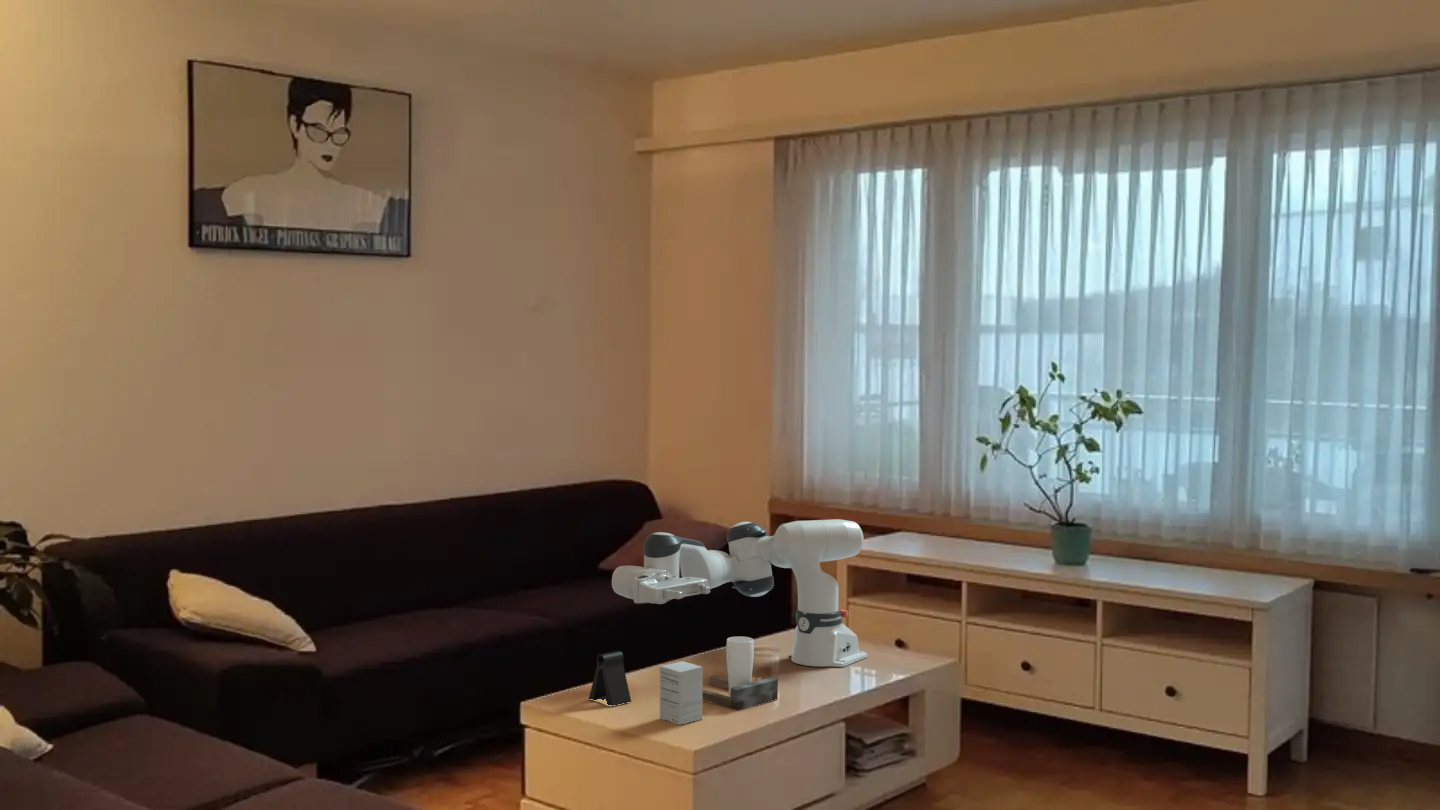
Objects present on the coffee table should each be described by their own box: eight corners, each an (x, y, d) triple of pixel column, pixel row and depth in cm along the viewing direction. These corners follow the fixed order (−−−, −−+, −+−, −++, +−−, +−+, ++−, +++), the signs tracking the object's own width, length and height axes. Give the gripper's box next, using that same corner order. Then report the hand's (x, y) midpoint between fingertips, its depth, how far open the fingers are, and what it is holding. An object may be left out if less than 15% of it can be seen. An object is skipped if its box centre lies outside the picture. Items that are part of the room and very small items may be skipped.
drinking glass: (750, 704, 329) (751, 643, 329) (723, 702, 331) (724, 641, 330) (755, 696, 336) (756, 637, 335) (728, 695, 337) (729, 635, 337)
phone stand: (588, 700, 332) (588, 651, 331) (607, 695, 336) (607, 647, 335) (612, 707, 325) (612, 658, 325) (631, 703, 330) (631, 654, 329)
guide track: (714, 682, 349) (714, 663, 349) (777, 699, 334) (777, 679, 333) (674, 692, 339) (674, 672, 339) (737, 710, 324) (738, 689, 324)
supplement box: (682, 713, 321) (682, 660, 321) (703, 719, 316) (703, 666, 315) (658, 719, 316) (658, 665, 316) (679, 726, 311) (679, 671, 310)
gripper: (686, 593, 363) (723, 599, 353) (629, 603, 348) (666, 610, 338) (686, 569, 362) (723, 575, 353) (629, 579, 348) (666, 585, 338)
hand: (695, 592), depth 345 cm, fingers open, 8 cm apart
